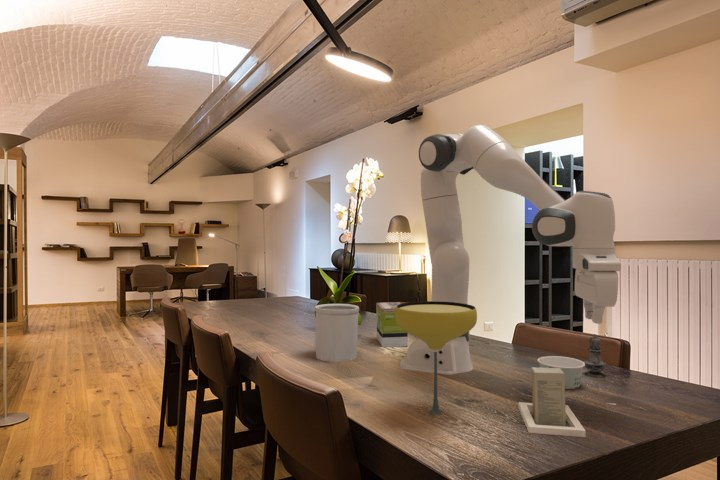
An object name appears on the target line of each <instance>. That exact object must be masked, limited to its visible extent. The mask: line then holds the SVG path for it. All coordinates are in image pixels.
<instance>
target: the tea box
mask: <svg viewBox="0 0 720 480" xmlns="http://www.w3.org/2000/svg"><path fill="white" fill-rule="evenodd" d="M399 304H402V303H401V302H400V301H396V302H395V301H394V302H393V301H391V302H389V301H388V302H376V303H375V307H376V308H375V309H376V315H375V316H376V340H378V342H379V344H380V345H381V347H382V348H398V347H399V348H400V347H408V345H409V343H408V342H409V340H408V339H409V337H408V334H409V333H407V332H406V331H404V330H403V329H402V328H401V327H400V326H399V325H398V324H397V322H396V319H395V310H396V306H397V305H399Z"/></svg>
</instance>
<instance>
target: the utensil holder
mask: <svg viewBox="0 0 720 480" xmlns="http://www.w3.org/2000/svg"><path fill="white" fill-rule="evenodd" d="M314 311H315V358H316V359H317V360H319V361H323V362H331V363H334V362H335V363H338V362H339V363H342V362H349V361H354V360H357V357H358V340H359V339H358V338H359V337H358V335H359V333H358V331H359V312H360V307H359V305H355V304H351V303H350V304H349V303H324V304H318V305H315V307H314Z"/></svg>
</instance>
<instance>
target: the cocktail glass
mask: <svg viewBox="0 0 720 480" xmlns="http://www.w3.org/2000/svg"><path fill="white" fill-rule="evenodd" d="M395 319H396V322H397V324H398V325H399V326H400V327H401V328H402V329H403V330H404V331H406V332H407V333H408V334H409V335H411V336H413V337H415V338H417V339H418V338H419V339H420V340H422V341H424V342H425V343H426V344H427V345H428V347H429V348H430V350H431V351H433V352H434V373H433V376H434V377H433V378H434V379H433V401H432V402H433V404H432V408H431V409H429V410H428V413H430V414H433V415H441V414H443V413H444V411H443V410H441V409H440V406H439V399H438V373H437V352H439V351H440V350H441V349H442V348H443V346H444V345H445V344H446V343H447V342H449V341H451V340H453V339H455V338H457V337H459V336H462V335H463V334H465V333H467V332H470V331H471V330H472V329H474V328H475V326H476V324H477V321H478V313H477V307H476V306H474V305H471V304H463V303H455V302H439V301H430V300H428V301H426V300H425V301H424V300H423V301H412V302H411V301H410V302H404V303H401V304H399V305H397V306H396V310H395Z"/></svg>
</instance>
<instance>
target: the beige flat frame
mask: <svg viewBox="0 0 720 480" xmlns="http://www.w3.org/2000/svg"><path fill="white" fill-rule="evenodd" d="M518 411H519V413H520V416H521V418H522V420H523V422H524V424H525V426H526V429H527V432H528V434H537V435H538V434H539V435H549V436H550V435H551V436H564V437H574V438H576V437H578V438H586V434H587V433H586V428H584V426H583V424H581V422H580V420H579V419H578V418H577V416H576V415H575V413H574V412H573V411H572V409H571V408H570V406H569V405H568V404H565V414H566V422H567V423H568V425H569V426H557V425H544V424H535V422H534V419H533V415H532V414H531V413H533V407H532V402H522V401H518Z"/></svg>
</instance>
